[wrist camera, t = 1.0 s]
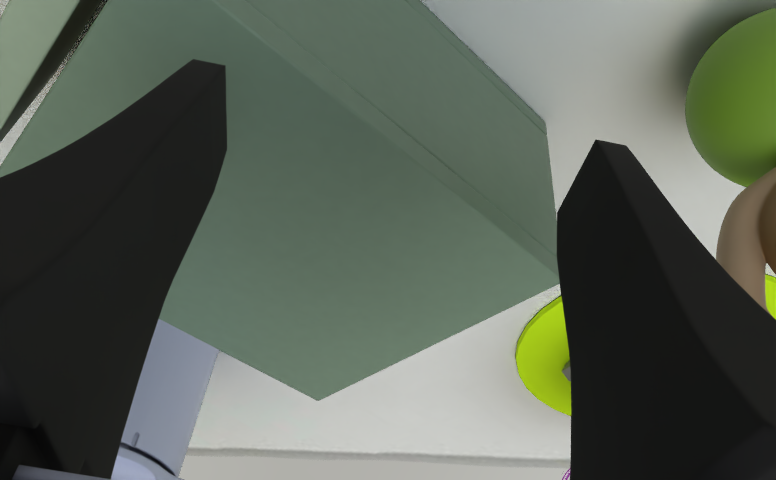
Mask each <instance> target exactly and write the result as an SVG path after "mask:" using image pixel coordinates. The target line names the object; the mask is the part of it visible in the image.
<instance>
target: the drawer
mask: <svg viewBox="0 0 776 480" xmlns="http://www.w3.org/2000/svg"><path fill="white" fill-rule="evenodd" d="M101 1H102V0H10V1H9V3H8V4H7V6H6V8H5V10H4V12H3V14H2V16H1V18H0V142H1V141H2V139H3V138H4V137H5V136H6V134H7V133H8V132H9V131H10V129H11V128H12V127H13V126H14V124H15V123H16V122H17V121H18V119H19V118H20V117H21V115H22V114H23V113H24V112H25V110H26V109H27V108H28V107H29V105H30V104H31V103H32V102H33V100H34V99H35V98H36V97H37V95H38V94H39V93H40V91H41V90H42V89H43V88H44V86H45V85H46V84H47V83H48V81H49V80H50V79H51V78H52V76H53V75H54V74H55V73H56V71H57V69H58V68H59V66H60V65H61V63H62V62H63V60H64V58H65V57H66V55H67V54H68V52H69V51H70V49H71V48H72V46H73V44H74V43H75V41H76V40H77V38H78V37H79V35H80V34H81V32H82V30H83V29H84V27H85V26H86V24H87V23H88V21H89V19H90V18H91V16H92V15H93V13H94V12H95V10H96V9H97V7H98V5H99V4H100V2H101Z"/></svg>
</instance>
